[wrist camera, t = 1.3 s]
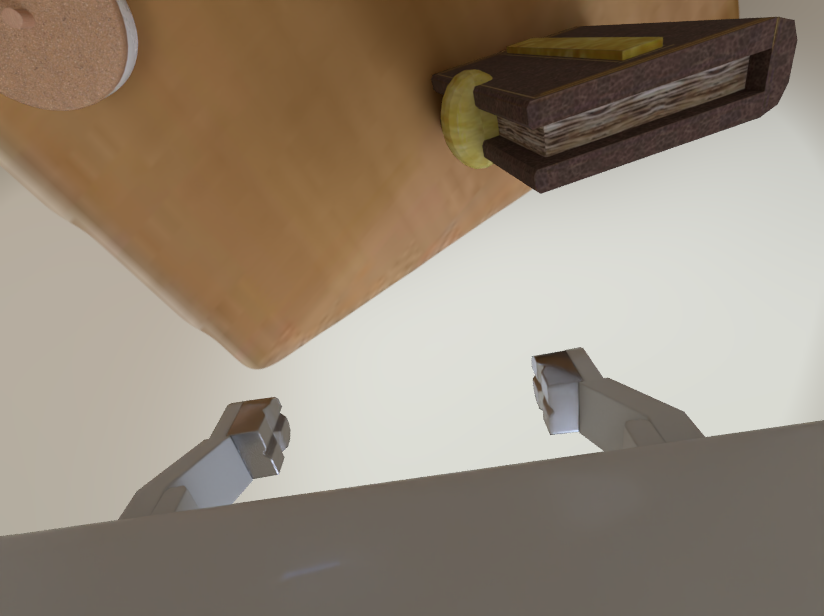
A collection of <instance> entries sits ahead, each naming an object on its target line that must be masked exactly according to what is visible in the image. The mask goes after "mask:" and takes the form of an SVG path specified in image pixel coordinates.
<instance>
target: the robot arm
mask: <svg viewBox="0 0 824 616" xmlns="http://www.w3.org/2000/svg"><path fill="white" fill-rule="evenodd" d="M532 368H533V371H534V373H535V376H534V378H533V386H534V392H535V397H536V401H537V404H538V406H539V409H541V410H543V417H544V421H545V424H546V426H547V428H548V431H549V433H550V435H555V434H563V433H570V432H580V433H581V434H582V435H583V436H585V437H586V438H587V439H589V440H590V441H591V442H593V443H594V444H595V445H597V446H598V447H599V448H601V449H602V450H603V451H604V452H597V453H591V454H583V455H576V456H569V457H562V458H555V459H547V460H540V461H533V462H527V463H519V464H512V465H505V466H498V467H491V468H484V469H477V470H470V471H463V472H456V473H449V474H441V475H434V476H427V477H420V478H414V479H406V480H399V481H392V482H385V483H378V484H370V485H364V486H357V487H349V488H342V489H336V490H328V491H321V492H314V493H307V494H300V495H292V496H286V497H278V498H271V499H264V500H257V501H250V502H243V503H236V504H232V503H233V502H234V501H235V500H236V499H237V498H238V497H239V495H240V494H241V493H242V492H243V491H244V490H245V489H246V487H247V486H248V485H249V484H250V483H251V482H252V481H253V480H252V479H255V478H261V477H267V476H272V475H278V474H279V472H280V469H281V466H282V463H283V460H284V456H283V453H282V452H283V451H284V450H285V449H286V448H287V447H288V444H289V440H290V427H289V422H288V420H287V418H286V417H285V416H284V415H282V414H281V413H280V410H281V407H282V406H281V404H280V402H279V400H278V399H277V398H276V397H271V398H264V399H257V400H249V401H242V402H236V403H231V404H229V405H228V406H227V407H226V409H225V411H224V413H223V415H222V416H221V418H220V420H219V422H218V424H217V426H216V427H215V429H214V431H213V433H212V434H211V436H210V438H209V439H206V440H203V441H202V442H201V443H200V444H198V445H197V446H196V447H194V448H193V449H192V450H190V451H189V452H188V453H186V454H185V455H184V456H183V457H181V458H180V459H179V460H177V461H176V462H175V463H173V464H172V465H171V466H169V467H168V468H167V469H165V470H164V471H163V472H162V473H160V474H159V475H158V476H156V477H155V478H154V479H153V480H151V481H150V482H148V483H147V484H146V485H144V486H143V487H142V488H141V489H139V490H138V491H137V492H136V493H135V495H134V496H133V498H132V500H131V501H130V503H129V504H128V506H127V507H126V509H125V510H124V512H123V513H122V515H121V516H120V518H119V519H118V520H116V521H108V522H101V523H94V524H87V525H80V526H73V527H66V528H59V529H52V530H44V531H37V532H30V533H24V534H15V535H7V536H0V616H824V420H823V421H815V422H809V423H802V424H795V425H788V426H782V427H774V428H767V429H760V430H753V431H746V432H739V433H732V434H725V435H718V436H711V437H705V436H704V435H703V434H702V433H701V432H700V430H699V429H698V428H697V427H696V426H695V424H694V423H693V422H692V421H691V420H690V418H689V417H688V416H687V415H686V414H685V412H683V411H681V410H679V409H677V408H674V407H672V406H670V405H668V404H666V403H663V402H661V401H659V400H656V399H654V398H652V397H650V396H648V395H645V394H643V393H641V392H639V391H637V390H634V389H632V388H630V387H628V386H626V385H623V384H621V383H619V382H617V381H614V380H612V379H610V378H603V377H602V375H601V374H600V372H599V371H598V370H597V368H596V367H595V365H594V364H593V362H592V361H591V359H590V358H589V356H588V355H587V354H586V352H585V350H584V349H583V348H581V347H579V348H574V349H569V350H565V351H560V352H555V353H549V354H543V355H537V356H532Z"/></svg>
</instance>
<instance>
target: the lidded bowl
mask: <svg viewBox="0 0 824 616" xmlns="http://www.w3.org/2000/svg"><path fill="white" fill-rule="evenodd" d="M137 52H138V38H137V30H136V26H135V22H134V18H133V16H132V13H131V11H130V8H129V6H128V4H127V2H126V0H0V93H2V94H4V95H5V96H7V97H9V98H11V99H14V100H16V101H18V102H21V103H23V104H26V105H30V106H33V107H37V108H41V109H47V110H59V111H68V110H75V109H81V108H84V107H87V106H90V105H93V104H95V103H97V102H99V101H100V100H102V99H104V98H106V97H108V96H109V95H111V94H113V93H114V92H115V91H116V90H118V89H119V88H120V87H121V86H122V85H123V84H124V83H125V82H126V80H127V79H128V78H129V76H130V74H131V72H132V70H133V68H134V66H135V62H136V58H137Z"/></svg>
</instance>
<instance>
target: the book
mask: <svg viewBox="0 0 824 616" xmlns="http://www.w3.org/2000/svg"><path fill="white" fill-rule="evenodd" d="M796 44H797V35H796V28H795V21H794V20H791V19H785V18H781V17H767V18H745V19H724V20H703V21H683V22H662V23H641V24H621V25H600V26H579V27H574V28H571V29H568V30H565V31H562V32H559V33H556V34H553V35H550V36H547V37H544V38H531V39H528V40H525V41H522V42H519V43H516V44H513V45H510V46H507V50H505V51H502V52H499V53H496V54H493V55H490V56H488V57H485V58H482V59H479V60H476V61H473V62H470V63H467V64H464V65H461V66H458V67H455V68H452V69H449V70H446V71H443V72H440V73H437V74H434V75H432V78H431V80H432V85H433V89H434V90H435V91H436V92H438V93H440V94H443V95H444V97H443V99H442V107H441V120H440V122H441V126H442V131H443V134H444V137H445V140H446V143H447V145H448V147H449V149H450V150H451V152H452V153H453V155H454V156H455V157H456V158H457V159H459V160H460V161H461V162H462V163H463V164H465V165H466V166H469V167H472V168H474V169H479V168H487V167H489V166H491V165H492V164H496V165H497V166H499V167H500V168H502V169H503V170H505V171H506V172H508V173H509V174H511V175H512V176H514V177H515V178H517V179H519V180H520V181H522V182H523V183H525V184H526V185H528V186H529V187H531V188H532V189H534V190H536V191H537V192H539V193H544V192H547V191H550V190H553V189H555V188H558V187H561V186H564V185H567V184H570V183H573V182H576V181H578V180H581V179H584V178H587V177H590V176H593V175H596V174H599V173H602V172H604V171H607V170H610V169H613V168H616V167H619V166H622V165H624V164H627V163H630V162H633V161H636V160H639V159H642V158H645V157H648V156H650V155H653V154H656V153H659V152H662V151H665V150H668V149H671V148H673V147H676V146H679V145H682V144H685V143H688V142H691V141H694V140H696V139H699V138H702V137H705V136H708V135H711V134H714V133H717V132H719V131H722V130H725V129H728V128H731V127H734V126H737V125H739V124H742V123H745V122H748V121H751V120H754V119H757V118H759V117H761V116H762V115H764V114H765V113H766V112H768V111H769V110H770V109H772V108H773V107H774V106H776V105H777V104H778V102H779V100H780V98H781V96H782V94H783V92H784V90H785V88H786V86H787V84H788V82H789V77H790V73H791V68H792V63H793V58H794V54H795V48H796Z"/></svg>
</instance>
